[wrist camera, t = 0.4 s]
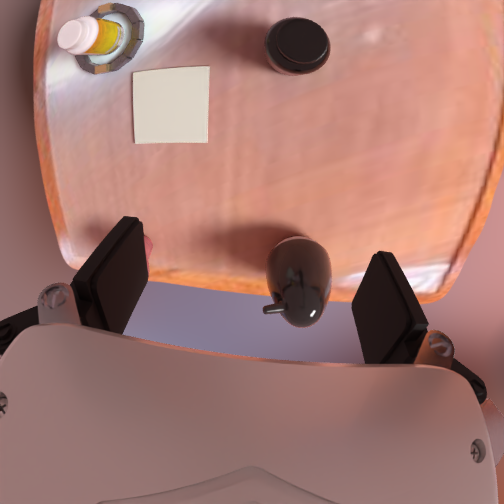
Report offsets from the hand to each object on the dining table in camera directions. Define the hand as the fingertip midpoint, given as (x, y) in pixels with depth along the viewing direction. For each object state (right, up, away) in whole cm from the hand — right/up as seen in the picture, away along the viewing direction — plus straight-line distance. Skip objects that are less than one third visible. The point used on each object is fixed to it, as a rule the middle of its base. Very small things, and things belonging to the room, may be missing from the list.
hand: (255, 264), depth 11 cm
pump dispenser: (+7, 0, +36) cm, 36 cm away
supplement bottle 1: (-21, +32, +16) cm, 41 cm away
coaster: (-11, +21, +23) cm, 33 cm away
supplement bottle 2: (+5, +26, +18) cm, 32 cm away
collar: (-21, +31, +16) cm, 41 cm away
